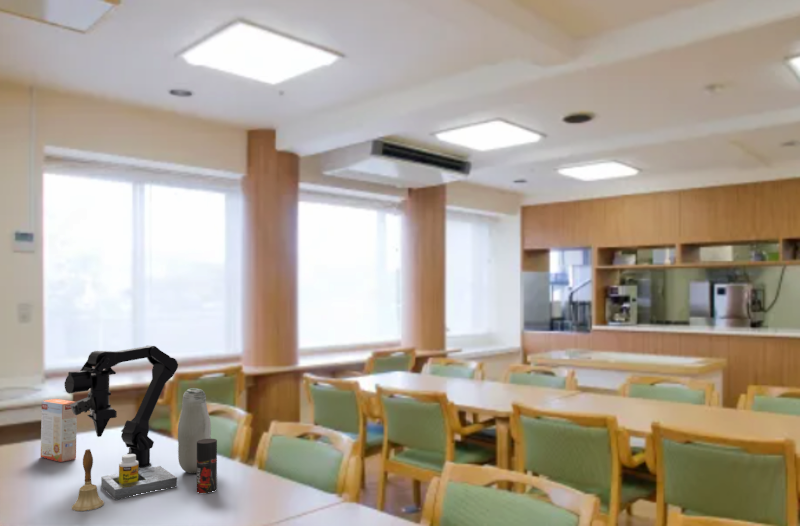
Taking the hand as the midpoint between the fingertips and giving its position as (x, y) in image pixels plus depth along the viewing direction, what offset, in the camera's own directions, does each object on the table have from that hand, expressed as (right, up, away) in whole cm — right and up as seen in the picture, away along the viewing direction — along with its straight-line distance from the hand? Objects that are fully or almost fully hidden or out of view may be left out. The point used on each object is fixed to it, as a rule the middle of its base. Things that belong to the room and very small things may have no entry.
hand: (99, 436), depth 204 cm
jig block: (+18, -13, -12) cm, 25 cm away
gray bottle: (+30, -13, +3) cm, 33 cm away
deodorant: (+40, -12, -15) cm, 45 cm away
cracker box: (-25, -14, +21) cm, 36 cm away
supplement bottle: (+16, -13, -13) cm, 24 cm away
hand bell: (+11, -12, -28) cm, 32 cm away
